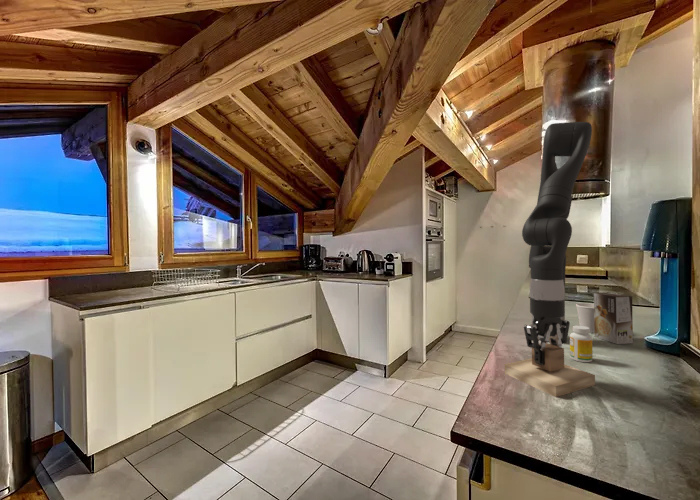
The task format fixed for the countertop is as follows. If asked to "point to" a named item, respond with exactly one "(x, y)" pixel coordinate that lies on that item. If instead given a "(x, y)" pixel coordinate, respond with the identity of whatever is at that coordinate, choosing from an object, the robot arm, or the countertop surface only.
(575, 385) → the maple block
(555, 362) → the walnut cube
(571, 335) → the supplement bottle
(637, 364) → the countertop surface
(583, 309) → the dixie cup
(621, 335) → the coffee box
